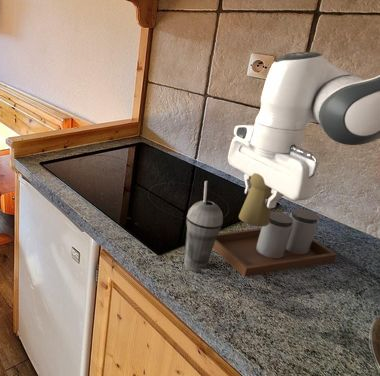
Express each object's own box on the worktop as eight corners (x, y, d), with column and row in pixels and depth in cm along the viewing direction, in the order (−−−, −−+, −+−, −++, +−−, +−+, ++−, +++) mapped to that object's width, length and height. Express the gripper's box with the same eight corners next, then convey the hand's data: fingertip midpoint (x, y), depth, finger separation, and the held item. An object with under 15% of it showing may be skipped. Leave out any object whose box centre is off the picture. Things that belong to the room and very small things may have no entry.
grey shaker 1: (270, 243, 97) (280, 209, 93) (289, 256, 92) (301, 222, 88) (250, 246, 95) (259, 212, 91) (268, 260, 90) (279, 225, 86)
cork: (240, 210, 91) (252, 165, 87) (270, 217, 89) (284, 171, 84) (236, 221, 87) (248, 174, 82) (267, 229, 84) (282, 181, 79)
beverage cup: (208, 279, 85) (228, 193, 76) (173, 268, 88) (189, 184, 79) (215, 262, 90) (234, 180, 82) (182, 252, 94) (197, 172, 85)
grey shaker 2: (294, 239, 98) (305, 206, 94) (314, 252, 93) (327, 218, 89) (275, 242, 97) (285, 209, 93) (294, 256, 92) (305, 221, 88)
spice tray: (286, 233, 102) (289, 223, 101) (333, 264, 90) (337, 254, 89) (204, 244, 97) (207, 234, 96) (243, 279, 85) (246, 268, 84)
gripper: (334, 154, 72) (311, 222, 77) (253, 123, 89) (239, 180, 95) (305, 157, 70) (284, 226, 76) (229, 124, 88) (216, 182, 94)
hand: (259, 200), depth 86 cm, fingers closed on cork, 4 cm apart
